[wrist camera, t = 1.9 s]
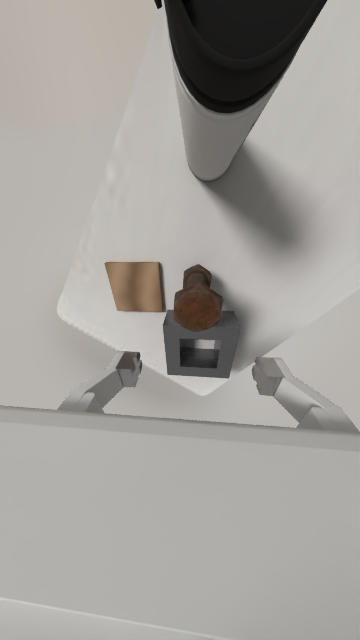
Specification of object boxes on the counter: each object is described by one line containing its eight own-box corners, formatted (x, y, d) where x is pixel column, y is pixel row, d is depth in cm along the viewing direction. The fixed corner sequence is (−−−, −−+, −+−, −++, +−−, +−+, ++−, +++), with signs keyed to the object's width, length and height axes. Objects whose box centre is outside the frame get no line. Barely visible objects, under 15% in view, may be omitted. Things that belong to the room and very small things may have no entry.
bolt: (207, 288, 31) (216, 336, 18) (182, 286, 31) (173, 332, 18) (212, 257, 28) (226, 288, 15) (184, 255, 28) (174, 284, 15)
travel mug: (178, 126, 20) (77, -429, 3) (233, 104, 18) (633, -1158, 2) (189, 188, 23) (168, 99, 6) (235, 173, 22) (376, 6, 5)
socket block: (233, 311, 33) (240, 327, 28) (224, 358, 40) (228, 378, 35) (167, 309, 34) (162, 325, 29) (171, 355, 42) (167, 374, 36)
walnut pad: (158, 261, 29) (157, 263, 28) (163, 309, 34) (162, 311, 33) (107, 262, 30) (104, 263, 29) (119, 308, 35) (117, 310, 34)
